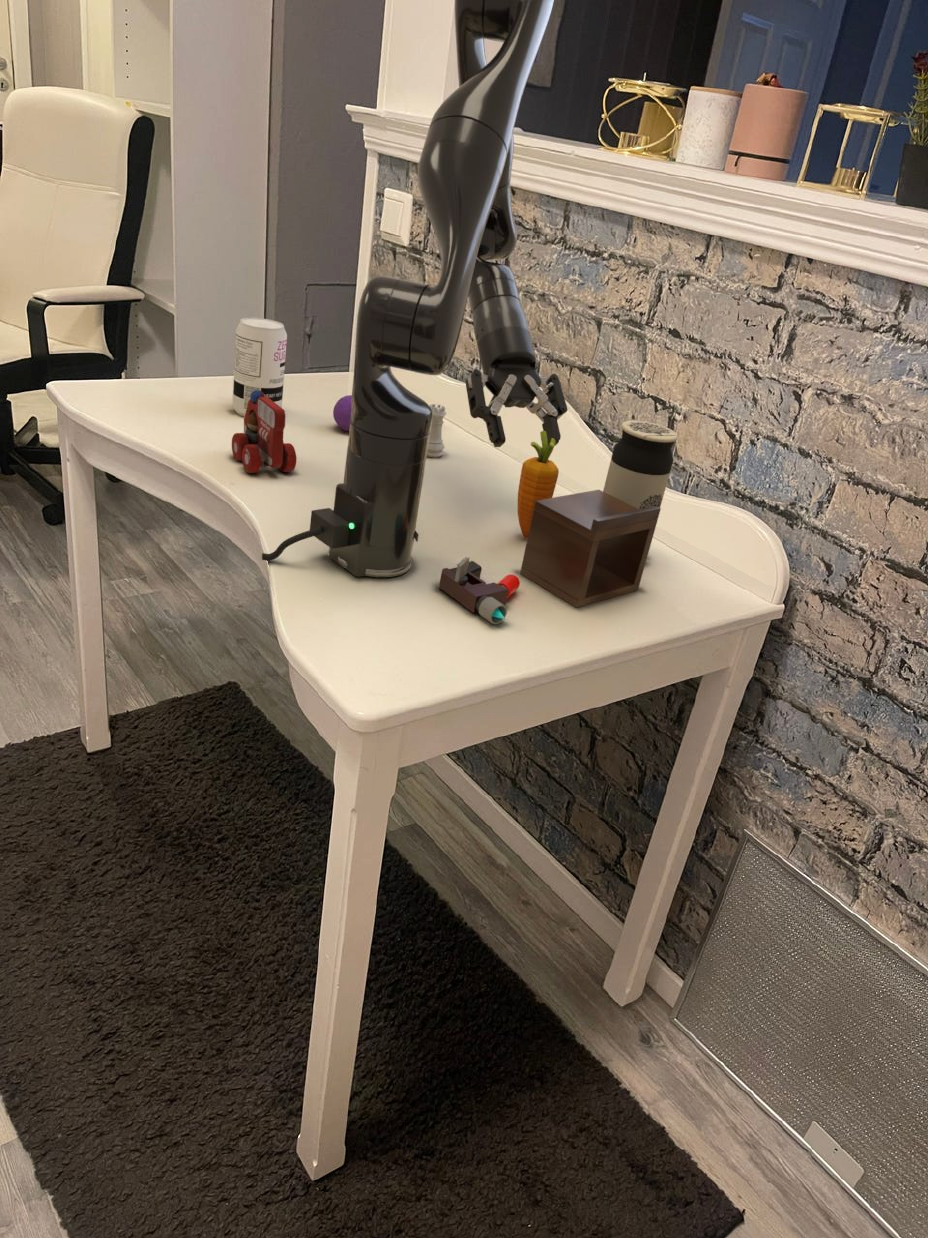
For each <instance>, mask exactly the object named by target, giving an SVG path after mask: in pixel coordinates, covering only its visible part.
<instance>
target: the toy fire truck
mask: <svg viewBox="0 0 928 1238" xmlns="http://www.w3.org/2000/svg"><path fill="white" fill-rule="evenodd" d="M285 428H286V412H285V410H284V408H283V407H282V408H281V407H280V406H278V405H277V404H276V403H275V402H273V401H272V400H271V399H270V398H268V397H265V395H264V393H263V392H262V391H260V390H255V391H253V392H252V393H251V397H250V400H249V401H248V405H247V409H246V413H245V416H244V418H243V432H235V433H234V434H233V435H232V437H231V451H232V455H233V458H234V459H235V460H236V461H239V462H242V466H243V469H244V471H245V472H246V473H247V474H257V473H259V472H260V470H261V468H262V464H263V466H264V467H269V468H271V469H276V468H279V470H280V471H282V472H283V473H291V472H293V471H295V469H296V466H297V453H296V452H297V451H296V448H295V447H294V445H293V444H292V443H289V442H286V443H285V441H284V430H285Z"/></svg>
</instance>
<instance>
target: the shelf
mask: <svg viewBox="0 0 928 1238" xmlns="http://www.w3.org/2000/svg"><path fill="white" fill-rule="evenodd" d="M660 514H661V507H660V508H659V507H657V506H655V507H650V508H645V509H640V510H639V509H637V508H635V507H633V506H631V505H629V504H627V503H625V502H623V501H621V500H619V499H617V498H615V497H613V496H611V495H609V494H607V493H605V492H603V490H601V489H594V490H589V491H583V492H577V493H572V494H567V495H560V496H555V497H552V498H549V499H543V500H537V501H535V506H534V511H533V515H532V520H531V525H530V529H529V534H528V538H526V544H525V549H524V553H523V557H522V558H523V559H522V562H521V567H520V571H519V574H520V575H522V576H523V577H526V578H527V579H529V580H530V581H532V582H533V583H535V584H536V585H539V586H540V587H542V588H543V589H545V590H547V591H548V592H550V593H551V594H553V595H554V596H557V597H558V598H560V599H562V600H563V601H565V602H567V603H568V604H570V605H572V606H573V607H574V608H577V609H578V608H580V607H584V606H587V605H591V604H594V603H596V602H597V603H599V602H601V601H604V600H608V599H611V598H614V597H618V596H621V595H625V594H628V593H631V592H635V591H638V590H639V588H640V584H641V581H642V578H643V574H644V570H645V566H646V563H647V559H648V556H649V552H650V548H651V546H652V542H653V538H654V534H655V531H656V527H657V524H658V520H659V516H660Z"/></svg>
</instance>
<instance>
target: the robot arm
mask: <svg viewBox="0 0 928 1238" xmlns="http://www.w3.org/2000/svg"><path fill="white" fill-rule="evenodd" d="M554 1H555V0H454V30H455V31H454V32H455V48H456V65H457V78H458V79H457V80H458V88H456V90H454V91H453V92H452V93H451V94H449V96H448V97H446V98H445V100H444V101H443V102H442V103H441V104H440V105H439V107H438V108H437V109H436V111H435V112H434V114H433V117H432V118H431V121H430V125H429V127H428V130H427V132H426V133H427V134H426V137H425V140H424V144H423V147H422V151H421V154H420V157H419V160H418V165H417V183H418V188H419V192H420V196H421V199H422V201H423V205H424V209H425V211H426V213H427V216H428V219H429V221H430V225H431V227H432V229H433V233H434V236H435V240H436V244H437V248H438V252H439V258H440V263H441V265H440V269H441V270H440V276H439V279H438V282H437V284H435V285H431V284H427V283H421V282H417V281H412V280H408V279H403V278H402V279H401V278H396V277H391V276H386V275H376V276H373V277H372V278H371V279H369V281H368V282H367V283H366V284H365V287H364V288H363V291H362V293H361V297H360V299H359V305H358V310H357V316H356V327H355V345H354V362H353V363H354V364H353V367H354V368H353V377H352V388H351V395H352V411H351V422H350V431H348V441H347V449H346V458H345V466H344V476H343V482H342V483H338V484H336V486H335V494H334V501H333V509H332V508H331V507H326V508H318V509H313V510H311V512H310V523H309V524H310V525H309V530H306V531H303V532H300V533H297V534H294V535H293V536H291V537H288V538H286V539H285V540H283V541H282V542H281V543H280V544H279V545H278V546H277V548H276V549H275V550H274V551H273V552H270V553H264V552H262V553H261V560H262V561H273V560H275V559H277V558H279V557H280V556H281V555H282V554H283V552H284V551H285V550H286V549H287V548H289V547H290V546H292V545H293V544H296V543H298V542H300V541H303V540H306V539H308V538H313V537H314V538H316V540H318V541H320V542H321V543H323V544H324V545H326V546H327V547H328V548H329V549H328V558H330V559H331V560H332V561H334V562H335V563H337V564H338V565H339V566H341V567H342V568H344V569H345V570H346V571H348V572H349V573H350V574H352V575H353V576H355V577H357V578H361V577H373V578H391V577H397V576H401V575H403V574H405V573H407V572H408V571H409V570H410V569H411V567H412V560H413V557H412V555H413V548H414V543H415V542H414V541H416V542H418V540H419V535H420V534H419V533H418V531H417V530H416V528H417V522H418V516H419V515H418V514H419V509H420V502H421V496H422V489H423V484H424V483H423V482H424V475H425V469H426V463H427V451H428V444H429V438H430V431H431V425H432V410H431V408H430V404H428V403H427V402H426V401H425V400H424V399H423V398H421V397H419V396H418V395H416V394H415V393H413V392H412V391H410V390H409V389H408V388H406V386H404V385H403V384H402V383H401V382H400V381H399V380H398V378H396V376H395V375H394V373H393V371H392V369H391V368H395V369H399V370H403V371H409V372H414V373H417V374H421V375H422V374H423V375H428V376H440V375H442V374H444V373H445V372H446V371H447V369H448V368H449V366H450V364H451V362H452V361H453V358H454V355H455V352H456V349H457V346H458V342H459V339H460V334H461V330H462V325H463V321H464V317H465V312H466V307H467V302H469V306H470V311H471V314H472V315H471V316H472V322H473V324H472V325H473V331H474V332H473V333H474V338H475V341H476V346H477V351H478V355H479V359H480V365H481V369H482V372H481V371H480V370H478V369H474V370H473V371H472V372H471V373H470V374H469V375H468V376H467V378H466V379H465V388H466V394H467V402H468V407H469V414H470V416H471V418H473V419H481V420H483V422H485V426H486V430H487V435H488V440H489V442H490V443H491V444H492V445H493V447H494V448H501V447H503V445H504V444H505V443H506V433H505V430H504V425H503V420H502V416H501V415H499V413H500V411H501V409H502V407H503V406H504V407H505V408H513V407H516V408H519V409H525V408H526V409H527V410H528V411H529V413H530V414H533V415H536V416H537V417H538V419H539V420H540V421H541V422H542V423H541V426H542V431H546V435H547V442H548V445H549V444H550V442H551V438H553V439H555V441H556V442H555V446H557V445H558V444H559V442H560V440H561V438H562V437H561V431H560V427H559V423H558V420H559V419H560V418H561V417H562V416H563V415H564V414H565V415H566V413H567V412H568V410H569V409H568V406H567V403H566V398H565V396H564V395H565V394H564V391H563V388H562V385H561V382H560V378H559V376H558V375H557V374H556V373H552V374H551V375H550V376H540V374H539V373H538V372H537V366H536V365H537V358H536V354H535V349H534V344H533V340H532V337H531V333H530V329H529V325H528V320H527V315H526V313H525V310H524V309H523V305H522V302H521V298H520V294H519V289H518V284H517V281H516V276H515V274H514V272H513V270H512V268H510V266H508V265H506V264H503V263H499V262H493V261H501V260H505V259H507V258H509V256H511V254H512V253H513V252H514V250H515V248H516V246H517V242H518V233H517V226H516V221H515V217H514V211H513V206H512V196H511V179H512V172H513V171H512V170H513V160H514V152H515V140H514V139H515V138H514V129H515V125H516V121H517V117H518V113H519V109H520V104H521V102H522V98H523V95H524V92H525V89H526V85H527V82H528V79H529V77H530V74H531V72H532V70H533V69H532V68H533V66H534V63H535V60H536V57H537V55H538V51H539V49H540V46H541V44H542V41H543V38H544V35H545V32H546V30H547V28H548V27H547V26H548V23H549V20H550V17H551V14H552V9H553V6H554ZM485 40H488V41H494V42H499V43H502V45H501V47H499V50H498V51H497V53H496V54H495V55H494V56H493V57H492V59H491V60H489V62H488V63H487V58H486V49H485ZM482 373H483V374H482ZM484 388H486V389H487V390H488V392H490V393H491V394H492V397H491V398H490V401H489V403H488V404H487V402H486V397H485V391H484ZM535 399H536V400H537V402H536V403H535V402H534V400H535Z"/></svg>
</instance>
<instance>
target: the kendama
mask: <svg viewBox="0 0 928 1238" xmlns="http://www.w3.org/2000/svg"><path fill="white" fill-rule="evenodd" d="M351 411H352V394H349V395H344V396H342V397H341V398H339V399H338V400H337V401H336V403H335V405H334V407H333V410H332V415H333V416H332V417H333V419H334V421H335V423H336V425H337V426H338V428H340V429H341V430H344V431H345V432H349V431H350V422H351Z"/></svg>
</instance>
